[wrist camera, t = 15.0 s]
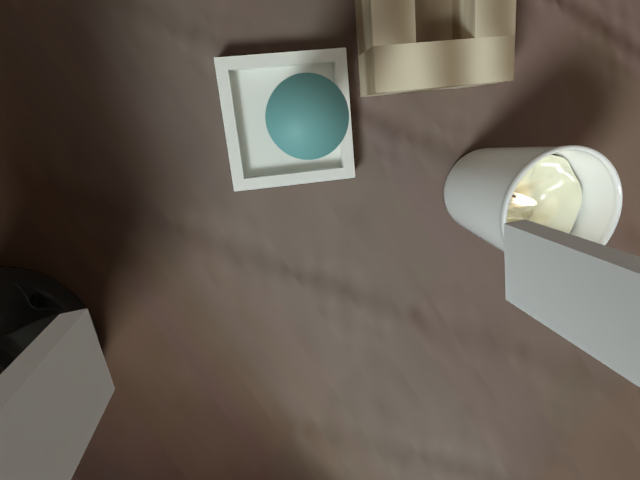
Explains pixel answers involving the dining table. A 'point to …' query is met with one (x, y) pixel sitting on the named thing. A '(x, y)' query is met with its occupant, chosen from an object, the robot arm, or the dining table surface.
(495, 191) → the candle holder
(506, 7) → the beige socket block
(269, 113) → the plug
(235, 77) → the tray
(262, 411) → the dining table surface
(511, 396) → the dining table surface
